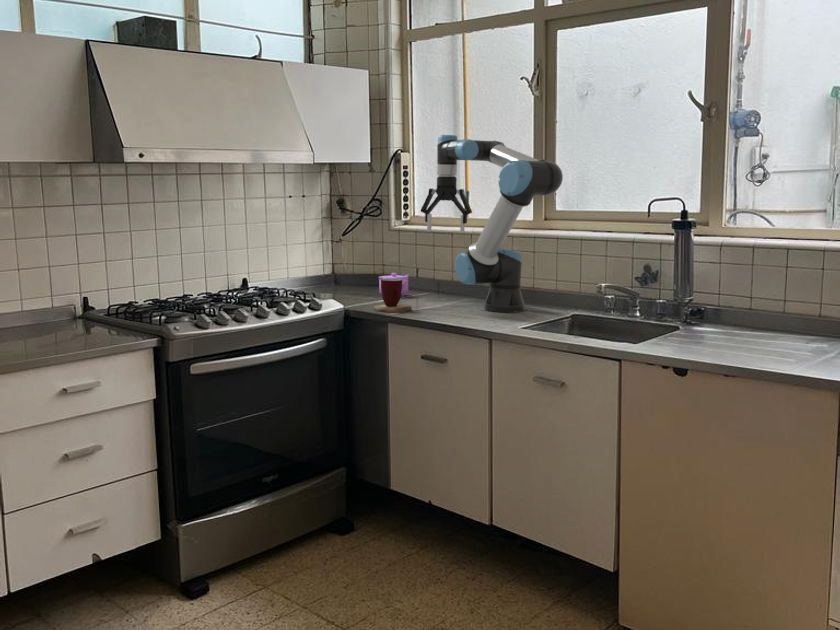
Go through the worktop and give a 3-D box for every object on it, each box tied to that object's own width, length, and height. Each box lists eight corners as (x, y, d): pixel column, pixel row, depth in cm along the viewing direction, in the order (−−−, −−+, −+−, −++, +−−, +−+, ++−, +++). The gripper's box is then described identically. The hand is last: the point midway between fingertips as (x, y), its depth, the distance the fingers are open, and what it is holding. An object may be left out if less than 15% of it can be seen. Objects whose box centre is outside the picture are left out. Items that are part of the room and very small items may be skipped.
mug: (410, 307, 322) (410, 280, 321) (392, 309, 318) (393, 282, 316) (393, 303, 331) (393, 277, 329) (376, 305, 326) (376, 279, 324)
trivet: (417, 308, 328) (417, 305, 328) (403, 313, 315) (403, 310, 315) (383, 306, 333) (383, 302, 333) (368, 310, 320) (368, 307, 320)
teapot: (389, 300, 351) (390, 276, 349) (368, 296, 360) (368, 273, 358) (421, 296, 363) (421, 273, 362) (399, 293, 373) (399, 270, 371)
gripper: (480, 176, 330) (479, 232, 334) (420, 175, 339) (419, 229, 343) (474, 176, 323) (473, 233, 327) (413, 175, 332) (412, 230, 336)
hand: (445, 231), depth 335 cm, fingers open, 13 cm apart
